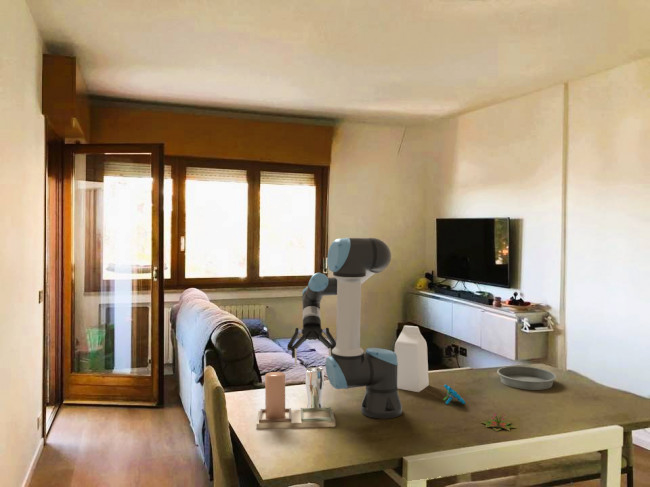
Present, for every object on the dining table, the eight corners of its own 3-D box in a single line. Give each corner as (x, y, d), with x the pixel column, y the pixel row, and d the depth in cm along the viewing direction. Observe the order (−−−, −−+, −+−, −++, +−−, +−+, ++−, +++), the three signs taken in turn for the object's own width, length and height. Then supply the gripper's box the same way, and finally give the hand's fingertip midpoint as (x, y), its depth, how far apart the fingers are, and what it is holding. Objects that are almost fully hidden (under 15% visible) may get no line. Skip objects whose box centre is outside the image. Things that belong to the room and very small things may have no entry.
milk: (392, 387, 232) (392, 327, 231) (403, 381, 241) (403, 323, 240) (418, 392, 225) (419, 329, 224) (428, 385, 235) (429, 325, 234)
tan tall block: (288, 415, 193) (288, 373, 193) (278, 421, 187) (278, 378, 186) (272, 412, 196) (272, 371, 196) (261, 418, 190) (261, 375, 189)
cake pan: (494, 387, 232) (494, 377, 232) (499, 373, 255) (499, 363, 255) (557, 394, 223) (557, 383, 223) (556, 378, 246) (556, 369, 245)
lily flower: (473, 423, 191) (473, 410, 191) (501, 418, 195) (501, 406, 195) (495, 435, 180) (495, 421, 179) (524, 430, 184) (524, 417, 184)
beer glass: (317, 413, 200) (317, 372, 199) (302, 409, 203) (301, 370, 203) (327, 407, 205) (327, 368, 205) (312, 404, 209) (312, 366, 209)
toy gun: (470, 403, 205) (451, 385, 206) (459, 415, 205) (440, 396, 205) (460, 398, 216) (442, 380, 217) (450, 409, 216) (432, 391, 216)
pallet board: (332, 413, 199) (332, 406, 199) (335, 426, 186) (335, 419, 186) (258, 415, 198) (258, 408, 197) (256, 428, 185) (256, 420, 184)
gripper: (340, 324, 230) (344, 368, 216) (282, 325, 229) (281, 369, 214) (341, 314, 225) (345, 358, 210) (281, 314, 223) (281, 359, 209)
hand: (313, 364), depth 212 cm, fingers open, 13 cm apart
